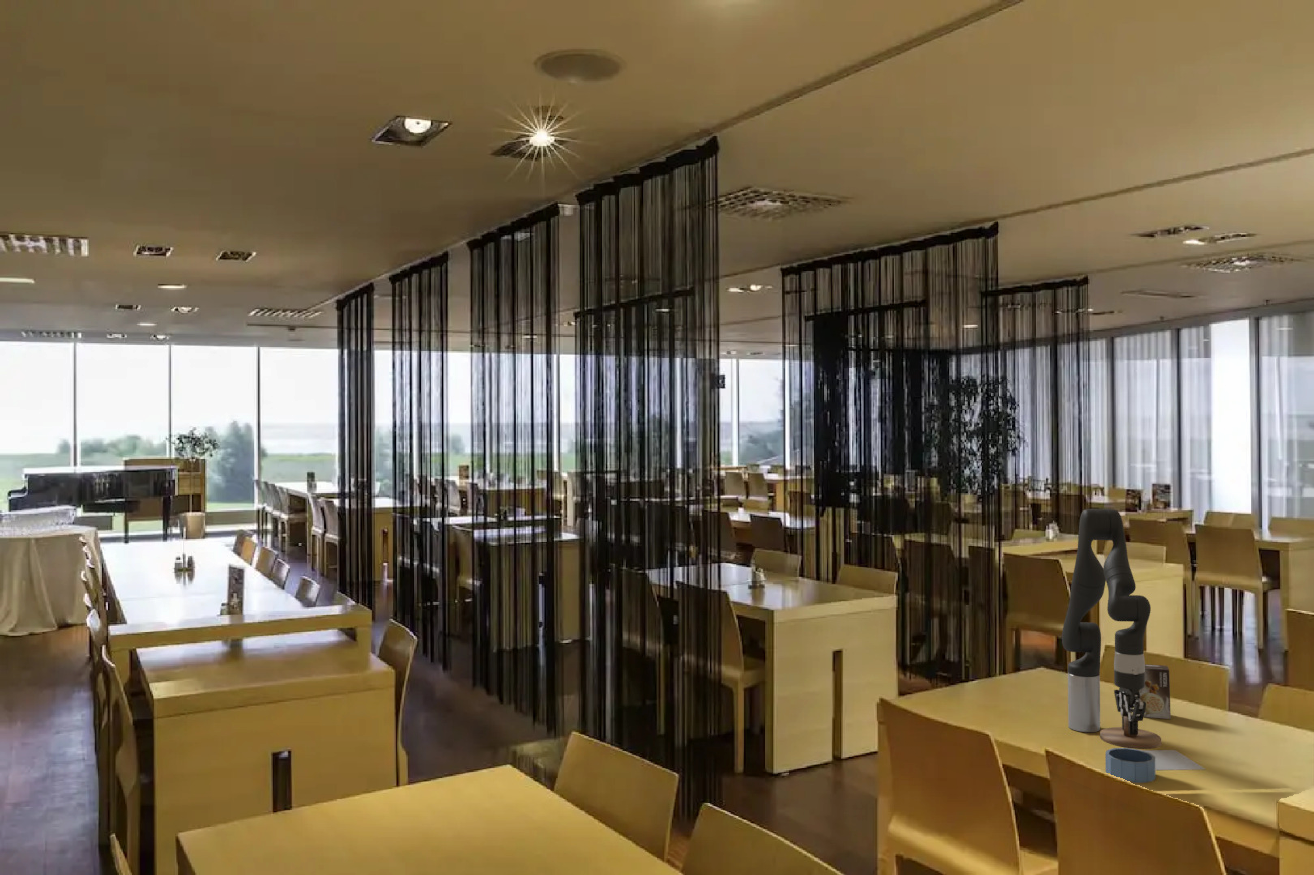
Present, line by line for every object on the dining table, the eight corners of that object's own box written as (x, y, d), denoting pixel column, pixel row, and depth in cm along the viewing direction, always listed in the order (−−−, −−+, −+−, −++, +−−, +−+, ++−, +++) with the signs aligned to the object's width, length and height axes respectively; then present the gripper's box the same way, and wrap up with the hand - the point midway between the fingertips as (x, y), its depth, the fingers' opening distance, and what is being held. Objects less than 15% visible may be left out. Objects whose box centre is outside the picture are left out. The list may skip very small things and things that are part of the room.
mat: (1119, 753, 288) (1119, 750, 288) (1175, 752, 288) (1175, 749, 288) (1147, 773, 272) (1147, 770, 272) (1205, 772, 272) (1205, 769, 272)
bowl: (1098, 770, 275) (1098, 748, 275) (1141, 769, 275) (1141, 747, 275) (1118, 785, 263) (1118, 763, 263) (1164, 785, 263) (1163, 762, 263)
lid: (1090, 732, 277) (1090, 709, 277) (1144, 731, 277) (1144, 708, 277) (1115, 749, 262) (1115, 726, 262) (1172, 748, 262) (1172, 725, 262)
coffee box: (1168, 714, 326) (1168, 665, 325) (1170, 719, 320) (1170, 669, 319) (1137, 711, 329) (1137, 663, 329) (1139, 717, 323) (1138, 667, 323)
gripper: (1103, 663, 276) (1104, 724, 276) (1127, 675, 262) (1128, 741, 262) (1130, 662, 276) (1131, 724, 276) (1156, 675, 262) (1157, 740, 262)
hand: (1130, 732), depth 269 cm, fingers closed on lid, 3 cm apart
